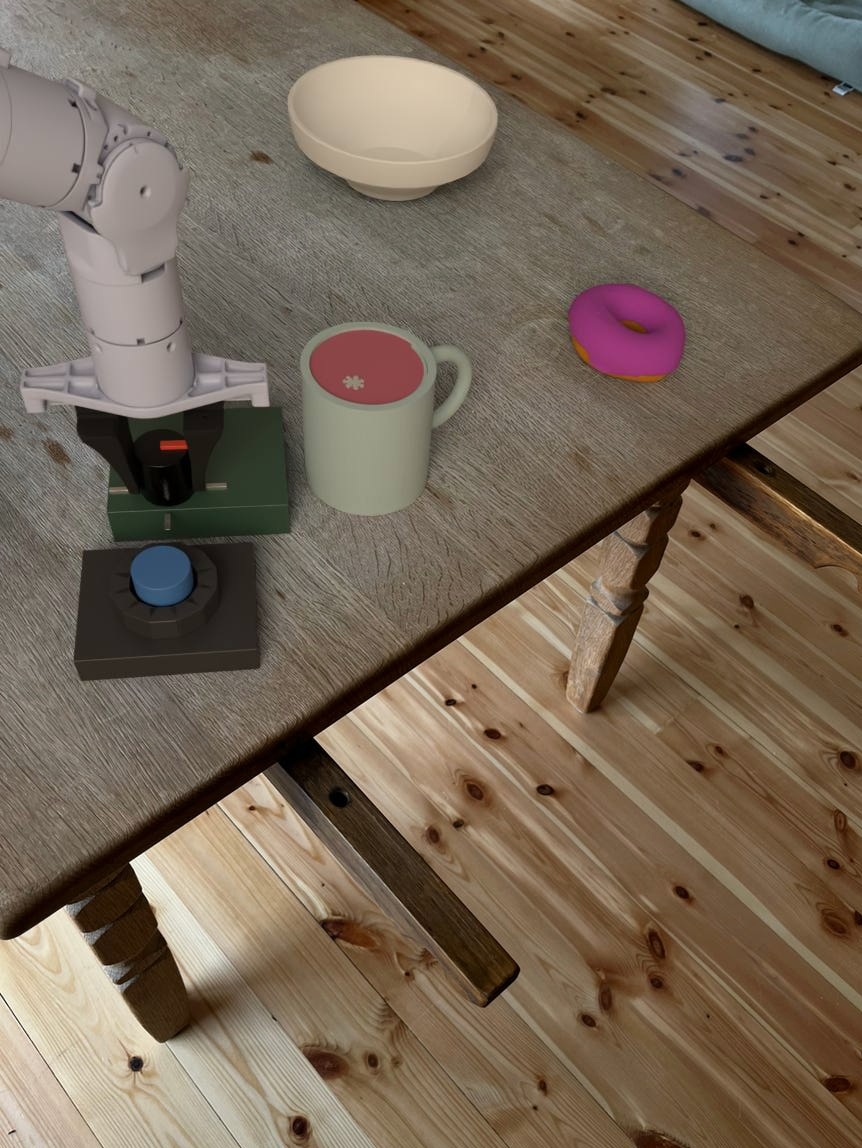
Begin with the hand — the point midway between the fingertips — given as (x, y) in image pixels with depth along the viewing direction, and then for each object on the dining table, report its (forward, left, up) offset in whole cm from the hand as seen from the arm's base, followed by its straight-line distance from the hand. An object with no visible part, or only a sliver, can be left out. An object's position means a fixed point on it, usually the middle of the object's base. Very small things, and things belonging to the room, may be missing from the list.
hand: (167, 482), depth 71 cm
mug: (+16, +5, -4) cm, 17 cm away
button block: (0, -9, -4) cm, 10 cm away
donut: (+37, +17, -4) cm, 41 cm away
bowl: (+20, +44, -4) cm, 48 cm away
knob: (0, 0, -1) cm, 1 cm away
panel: (+2, +3, -4) cm, 5 cm away
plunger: (0, -9, 0) cm, 9 cm away
